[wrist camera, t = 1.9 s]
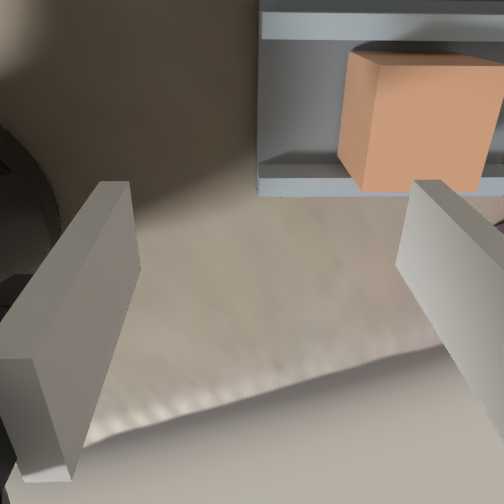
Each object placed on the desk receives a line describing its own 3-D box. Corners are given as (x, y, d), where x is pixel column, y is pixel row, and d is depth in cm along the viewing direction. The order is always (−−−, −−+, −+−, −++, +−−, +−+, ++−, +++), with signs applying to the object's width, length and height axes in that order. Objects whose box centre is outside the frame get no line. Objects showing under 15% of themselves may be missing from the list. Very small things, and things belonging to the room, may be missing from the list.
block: (336, 155, 28) (361, 192, 22) (348, 50, 25) (380, 65, 19) (430, 155, 28) (476, 191, 23) (453, 51, 25) (512, 66, 20)
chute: (255, 185, 30) (258, 206, 27) (259, -2, 24) (263, -2, 21) (486, 184, 31) (514, 204, 28) (539, 1, 25) (582, 2, 22)
